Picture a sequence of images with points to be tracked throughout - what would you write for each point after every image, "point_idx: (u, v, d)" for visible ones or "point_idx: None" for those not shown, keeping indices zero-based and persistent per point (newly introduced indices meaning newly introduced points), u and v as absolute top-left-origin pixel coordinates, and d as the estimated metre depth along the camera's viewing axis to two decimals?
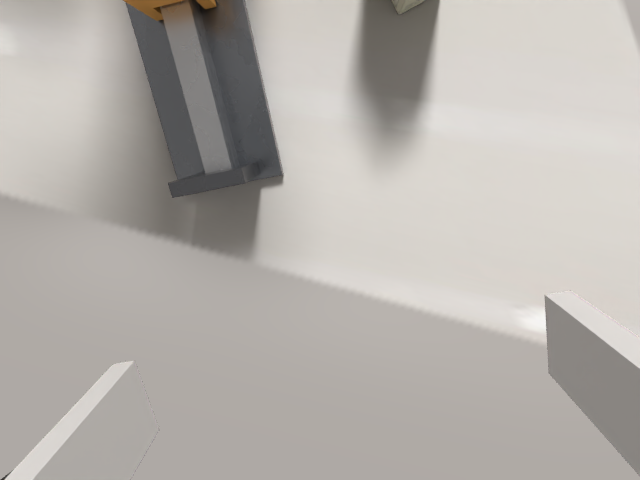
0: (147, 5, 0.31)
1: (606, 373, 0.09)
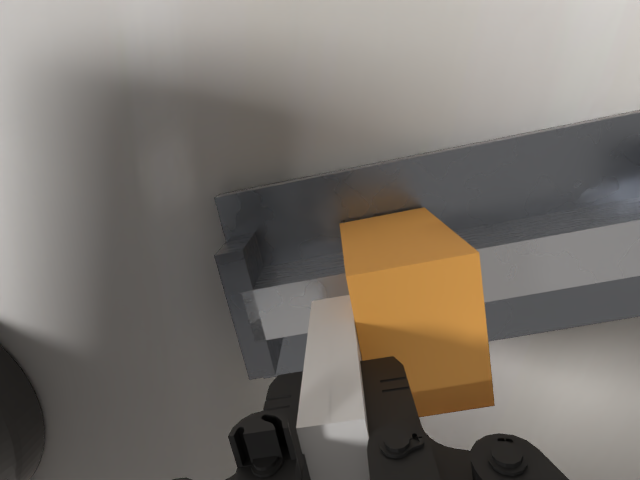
0: None
1: None
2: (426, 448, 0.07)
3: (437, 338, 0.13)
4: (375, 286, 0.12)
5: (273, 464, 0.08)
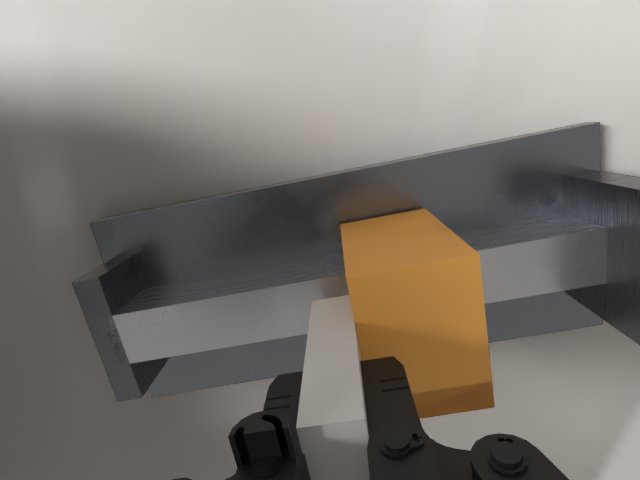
0: None
1: None
2: (426, 448, 0.07)
3: (437, 339, 0.13)
4: (375, 287, 0.12)
5: (273, 464, 0.08)
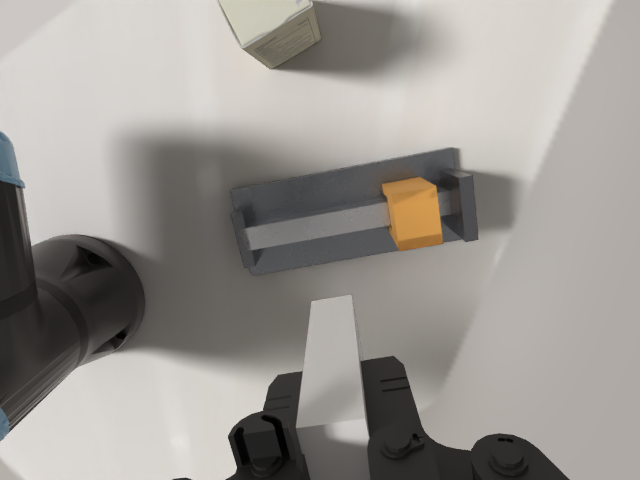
0: None
1: None
2: (426, 448, 0.07)
3: (422, 217, 0.36)
4: (401, 197, 0.36)
5: (273, 464, 0.08)
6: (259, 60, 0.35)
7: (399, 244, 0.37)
